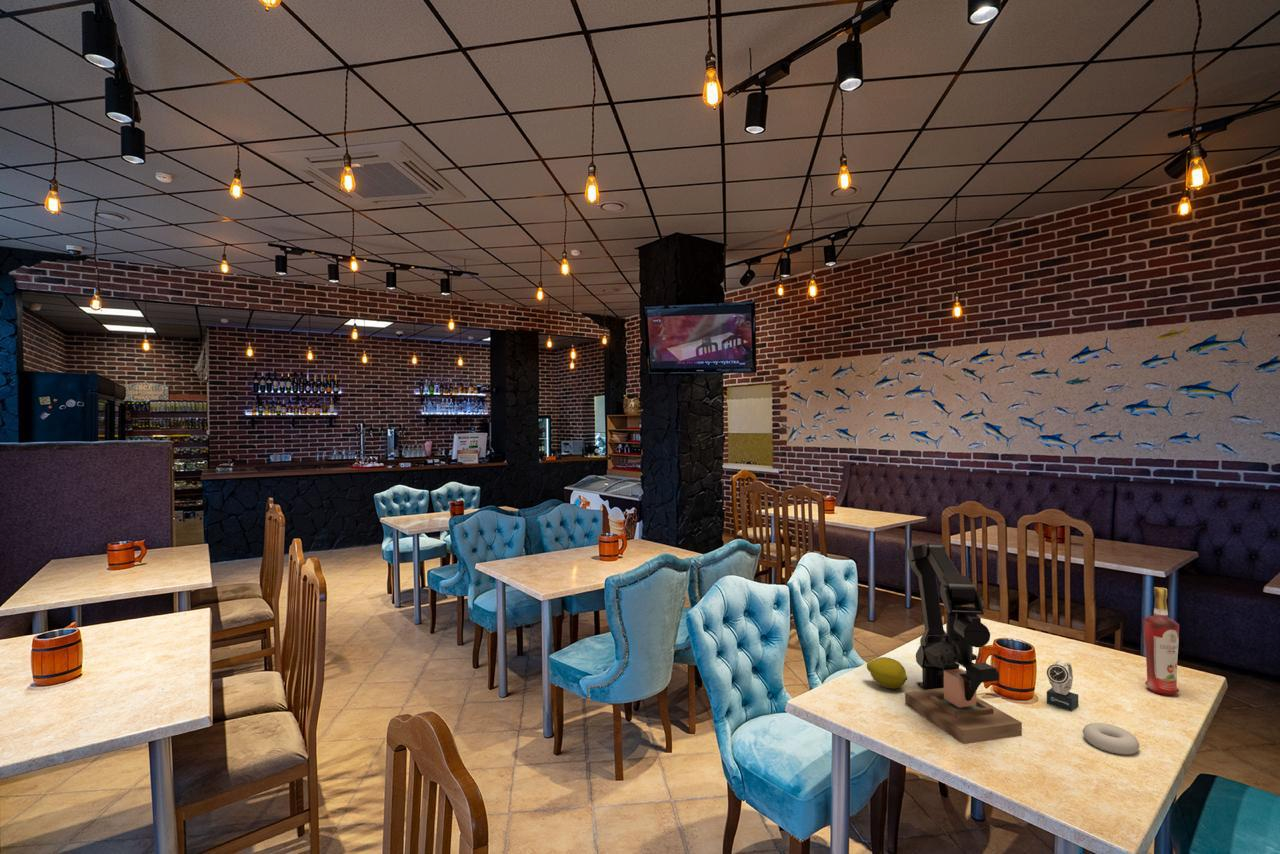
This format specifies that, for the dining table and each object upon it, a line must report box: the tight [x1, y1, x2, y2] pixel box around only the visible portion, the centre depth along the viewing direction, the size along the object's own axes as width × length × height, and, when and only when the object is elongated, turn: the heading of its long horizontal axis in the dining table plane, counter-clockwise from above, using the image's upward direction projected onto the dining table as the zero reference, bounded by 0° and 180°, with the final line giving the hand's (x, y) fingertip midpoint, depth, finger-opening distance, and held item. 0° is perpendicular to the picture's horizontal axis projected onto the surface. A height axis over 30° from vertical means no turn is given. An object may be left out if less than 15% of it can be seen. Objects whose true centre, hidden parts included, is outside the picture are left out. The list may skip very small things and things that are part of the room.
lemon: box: [866, 656, 908, 690], centre depth 162 cm, size 11×8×8 cm
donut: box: [1082, 722, 1140, 756], centre depth 132 cm, size 10×4×10 cm
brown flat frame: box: [904, 688, 1023, 744], centre depth 144 cm, size 20×16×4 cm
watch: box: [1046, 660, 1079, 712], centre depth 151 cm, size 6×8×11 cm
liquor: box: [1142, 586, 1180, 696], centre depth 158 cm, size 7×7×28 cm
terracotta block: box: [944, 668, 977, 708], centre depth 144 cm, size 5×5×7 cm
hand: (959, 695), depth 144 cm, fingers closed on terracotta block, 5 cm apart
